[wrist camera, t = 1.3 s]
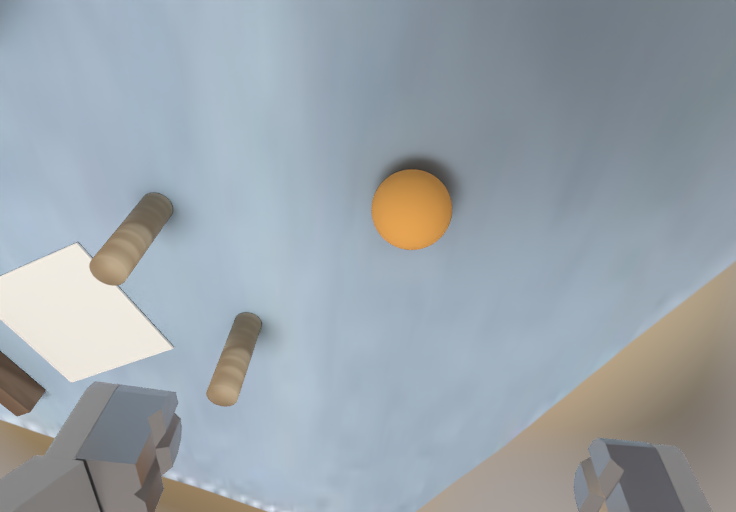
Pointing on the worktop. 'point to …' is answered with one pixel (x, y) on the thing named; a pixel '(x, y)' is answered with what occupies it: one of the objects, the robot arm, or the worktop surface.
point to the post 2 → (234, 360)
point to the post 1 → (131, 240)
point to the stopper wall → (17, 388)
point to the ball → (411, 209)
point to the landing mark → (76, 316)
